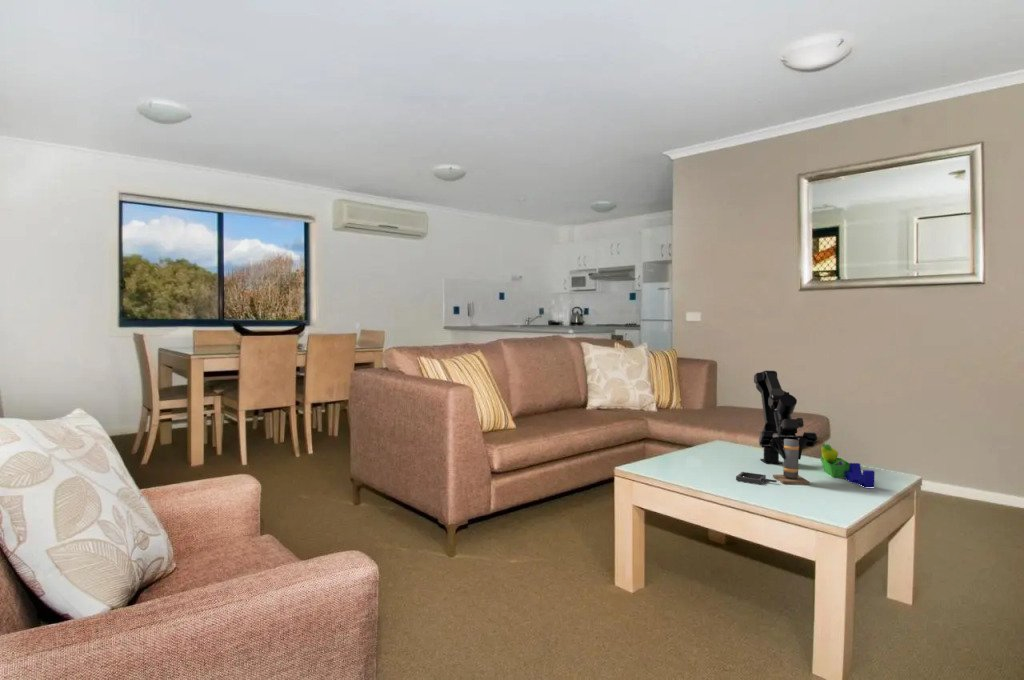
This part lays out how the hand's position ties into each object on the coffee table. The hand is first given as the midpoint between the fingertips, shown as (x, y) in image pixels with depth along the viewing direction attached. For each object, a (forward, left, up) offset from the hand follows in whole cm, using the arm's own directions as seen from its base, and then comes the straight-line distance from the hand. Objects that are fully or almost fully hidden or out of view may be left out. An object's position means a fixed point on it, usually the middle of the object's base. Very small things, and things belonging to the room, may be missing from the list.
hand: (792, 458), depth 207 cm
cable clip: (+1, +23, -9) cm, 25 cm away
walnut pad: (-1, 0, -8) cm, 8 cm away
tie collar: (0, -12, -8) cm, 15 cm away
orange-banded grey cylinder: (-1, 0, -7) cm, 7 cm away
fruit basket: (-11, +20, -9) cm, 25 cm away
